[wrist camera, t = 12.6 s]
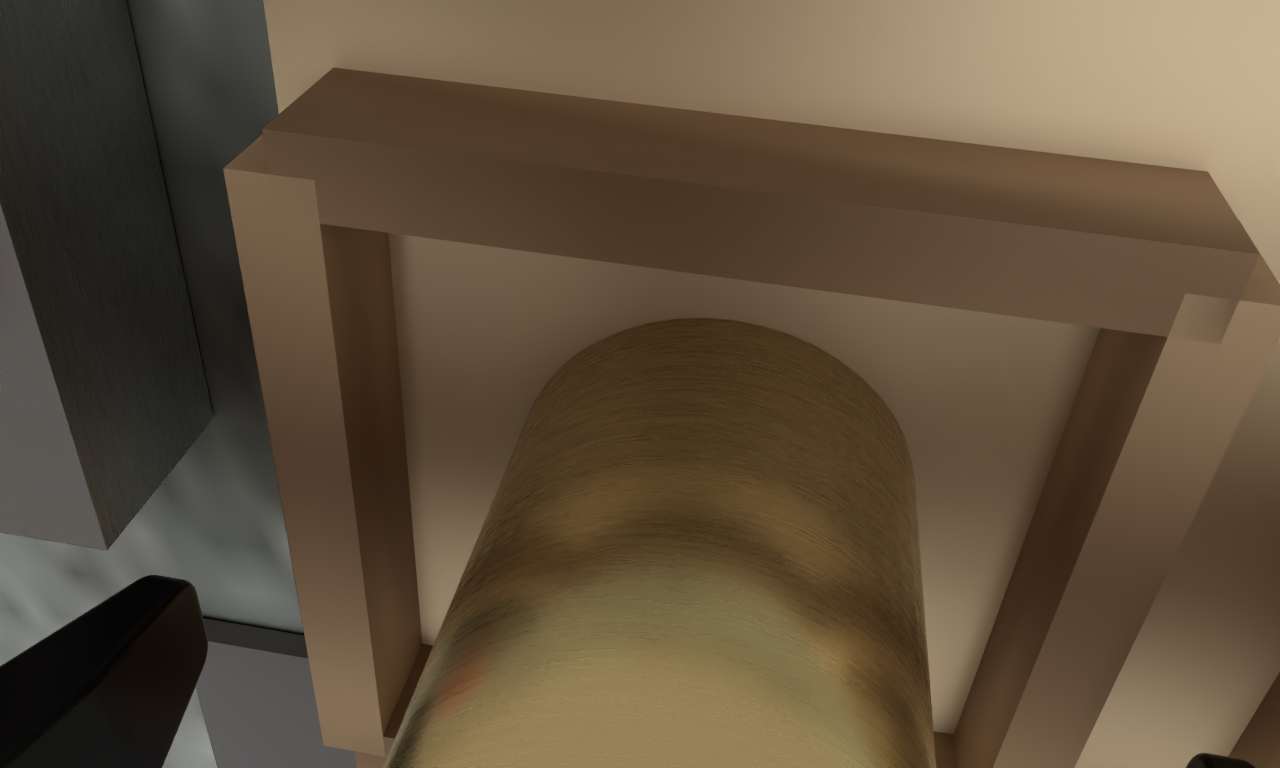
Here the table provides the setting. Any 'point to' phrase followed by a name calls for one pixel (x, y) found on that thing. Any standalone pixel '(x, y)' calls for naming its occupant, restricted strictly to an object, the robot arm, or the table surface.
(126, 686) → the robot arm
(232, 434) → the table surface
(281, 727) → the mat
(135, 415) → the button housing
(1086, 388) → the tray
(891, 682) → the cylinder
